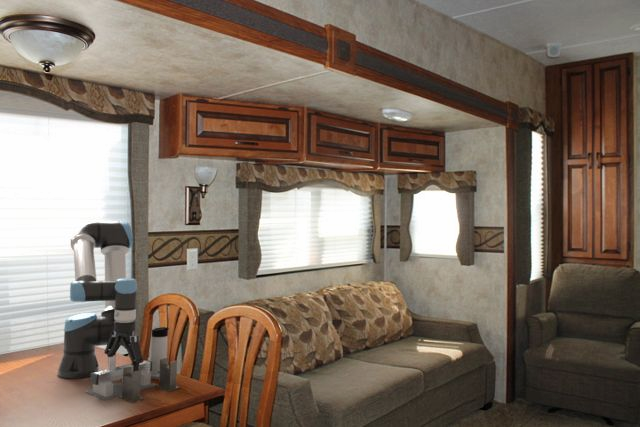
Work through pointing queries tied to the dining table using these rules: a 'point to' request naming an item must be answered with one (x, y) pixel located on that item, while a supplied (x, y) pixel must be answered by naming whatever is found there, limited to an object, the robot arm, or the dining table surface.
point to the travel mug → (158, 349)
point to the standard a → (131, 385)
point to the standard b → (167, 375)
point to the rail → (117, 373)
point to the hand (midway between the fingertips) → (122, 377)
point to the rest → (117, 388)
